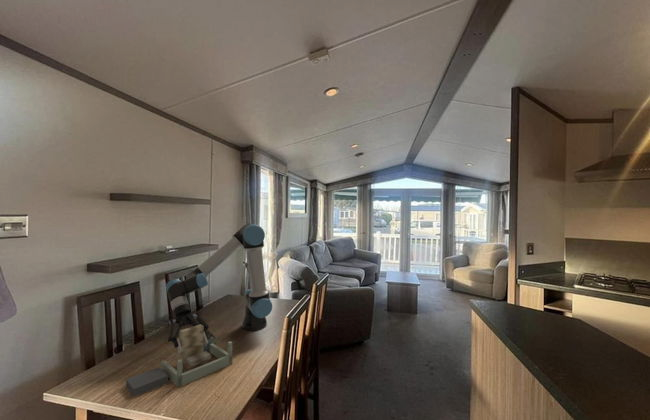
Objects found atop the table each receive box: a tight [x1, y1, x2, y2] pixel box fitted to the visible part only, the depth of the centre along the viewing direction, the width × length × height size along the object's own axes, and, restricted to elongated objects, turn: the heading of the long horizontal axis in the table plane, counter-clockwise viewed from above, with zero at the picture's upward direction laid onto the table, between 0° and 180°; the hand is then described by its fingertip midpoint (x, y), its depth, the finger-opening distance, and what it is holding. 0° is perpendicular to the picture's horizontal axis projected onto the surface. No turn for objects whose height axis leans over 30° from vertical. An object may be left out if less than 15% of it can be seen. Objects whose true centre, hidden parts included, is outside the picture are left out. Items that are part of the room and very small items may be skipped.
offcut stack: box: [182, 351, 212, 373], centre depth 125 cm, size 11×6×6 cm, turn 139°
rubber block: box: [125, 366, 169, 398], centre depth 114 cm, size 12×10×3 cm
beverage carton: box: [203, 328, 217, 352], centre depth 150 cm, size 8×19×7 cm, turn 41°
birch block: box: [178, 324, 204, 368], centre depth 132 cm, size 10×3×16 cm, turn 139°
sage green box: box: [160, 341, 233, 388], centre depth 128 cm, size 24×18×10 cm
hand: (194, 348), depth 130 cm, fingers open, 11 cm apart
